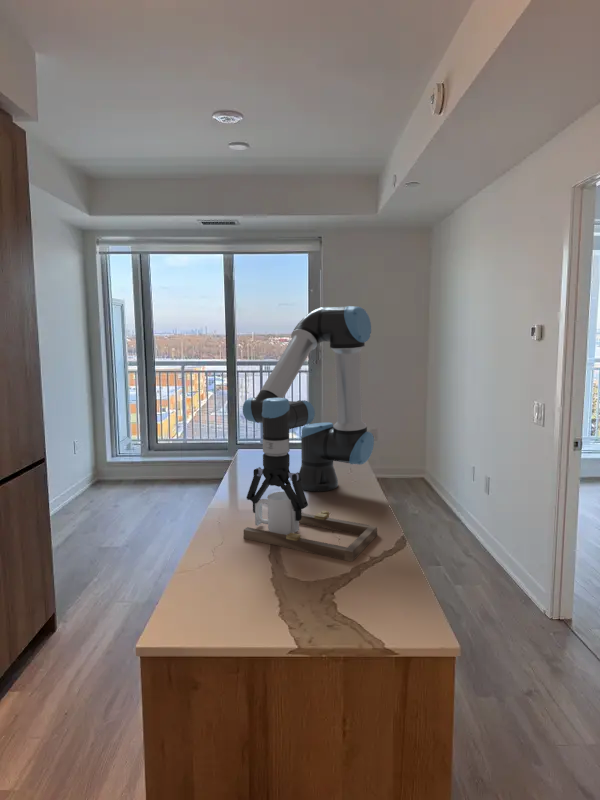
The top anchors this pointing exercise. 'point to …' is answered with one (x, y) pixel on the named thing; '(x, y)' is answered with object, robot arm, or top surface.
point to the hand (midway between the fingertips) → (276, 527)
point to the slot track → (316, 547)
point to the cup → (277, 513)
